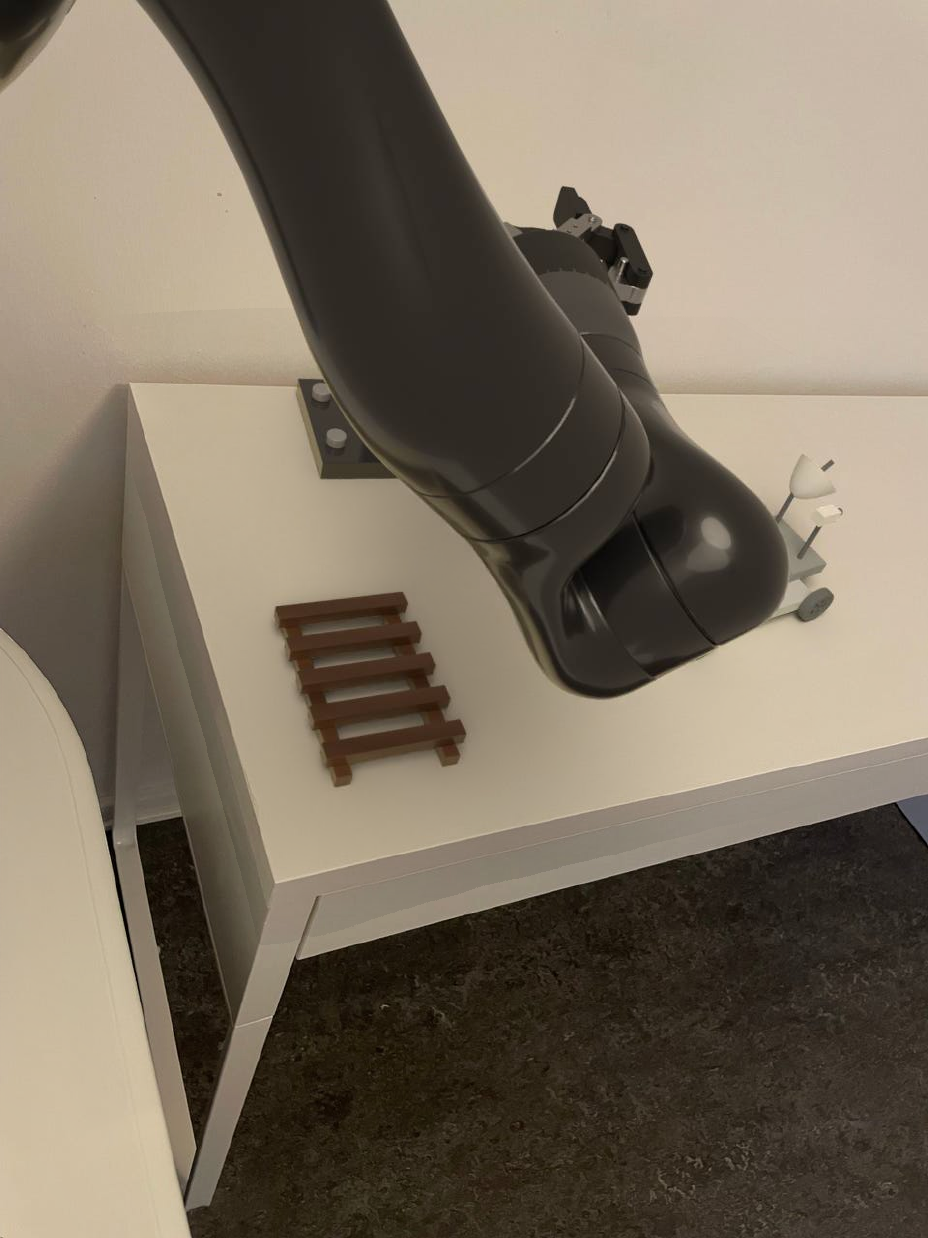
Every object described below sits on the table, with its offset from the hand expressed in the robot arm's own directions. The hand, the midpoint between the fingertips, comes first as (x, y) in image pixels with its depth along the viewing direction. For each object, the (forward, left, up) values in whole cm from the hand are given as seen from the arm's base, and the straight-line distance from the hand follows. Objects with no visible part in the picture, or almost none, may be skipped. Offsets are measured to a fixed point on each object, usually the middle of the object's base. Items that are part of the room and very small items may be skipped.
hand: (494, 190), depth 61 cm
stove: (-8, +7, -26) cm, 28 cm away
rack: (+9, -15, -26) cm, 32 cm away
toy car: (+20, +15, -26) cm, 36 cm away
